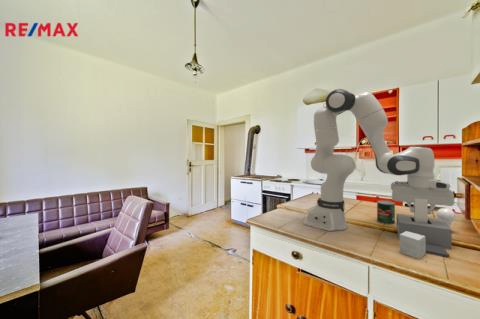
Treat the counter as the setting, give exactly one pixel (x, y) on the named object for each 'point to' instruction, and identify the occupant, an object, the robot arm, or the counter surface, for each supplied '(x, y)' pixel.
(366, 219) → the counter surface
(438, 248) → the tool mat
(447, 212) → the lightbulb
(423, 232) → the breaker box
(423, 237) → the product box
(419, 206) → the beige rectangular block
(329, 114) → the robot arm
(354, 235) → the counter surface
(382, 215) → the canned tomato
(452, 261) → the counter surface
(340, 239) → the counter surface
